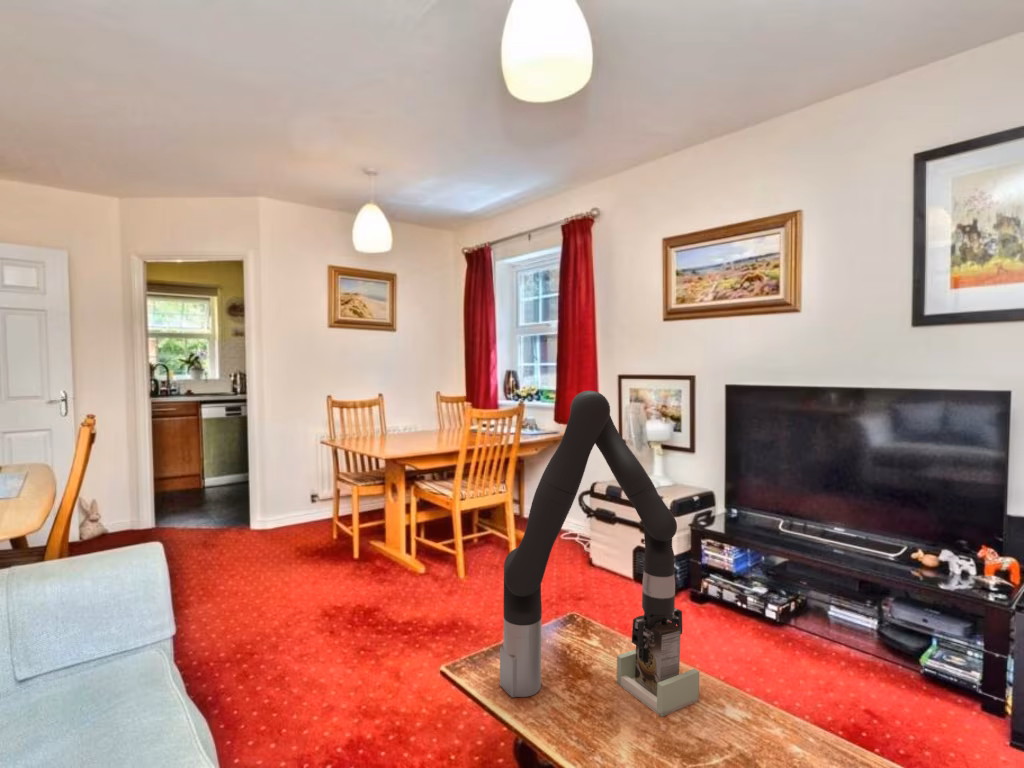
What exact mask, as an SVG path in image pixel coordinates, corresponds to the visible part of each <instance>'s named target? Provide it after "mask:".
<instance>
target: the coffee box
mask: <svg viewBox="0 0 1024 768" xmlns="http://www.w3.org/2000/svg"><path fill="white" fill-rule="evenodd" d="M643 617H644V614H643V615H638V616H636V617H635V618H637V619H638V620H639V619H643ZM644 626H645V625H644ZM645 632H646V633H647V634H651V632H653V640H651V642H650V644H649V646H648V648H649V651H648V663H644V662H642V661H641V660H640V659H639V647H638V646H636V645H635V649H636V663H635V664H636V665H635V681H636V682H637V683H639V684H640V685H641V686H642V687H643V688H645V689H646V690H648V691H649V692H651V693H652V694H653V695H655V696H656V697H657V683H659V682H661V681H664V680H666V679H669V678H671V677H674V676H677V675H679V674H680V663H681V662H680V660H681V659H680V657H681V656H680V655H681V635H682V634H681V628H679V627H678V626H677V624H676V625H674V624H673V623H670V624H669V625H666V624H662V626H661V627H658V628H655V627H652V628H651V629H649V628H648V626H647V628H646V626H645ZM680 634H681V635H680ZM646 638H647V637H645V638H644V640H643V641H644V642H645V640H646ZM637 639H638V636H637Z"/></svg>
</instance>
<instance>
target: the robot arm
mask: <svg viewBox="0 0 1024 768" xmlns="http://www.w3.org/2000/svg"><path fill="white" fill-rule="evenodd" d="M569 409H570V412H569V417H568V421H567V423H566V427H565V430H564V434H563V436H562V438H561V440H560V443H559V444H558V447H556V450H555V452H554V453H553V455H552V456H551V458H550V459H549V462H548V463H547V465H546V467H545V469H544V471H543V473H542V475H541V477H540V480H539V482H538V485H537V487H536V489H535V492H534V495H533V498H532V501H531V504H530V505H531V506H530V508H529V513H528V517H527V523H526V527H525V530H524V534H523V537H522V539H521V541H520V543H519V545H518V547H516V548H514V549H512V550H511V551H510V552H509V553H508V554H507V555H506V557H505V560H504V563H503V630H502V631H503V635H502V636H503V637H502V638H503V640H502V641H503V642H502V644H503V646H500V648H499V686H500V687H501V688H502V689H503V690H504V691H505V692H506V693H507V694H508V695H509V696H510V697H511V698H517V697H518V698H519V697H520V698H527V697H531V696H533V695H536V694H538V693H539V691H540V690H541V688H542V617H543V616H542V614H543V613H542V611H543V610H542V609H543V608H542V606H543V605H542V582H543V580H544V575H545V572H546V568H547V565H548V562H549V558H550V555H551V553H552V549H553V547H554V544H555V542H556V540H557V538H558V536H559V534H560V533H561V530H562V527H563V526H564V524H565V521H566V519H567V517H568V515H569V512H570V510H571V508H572V506H573V504H574V502H575V499H576V496H577V493H578V492H579V488H580V485H581V484H582V481H583V477H584V475H585V472H586V468H587V466H588V465H587V464H588V461H589V458H590V454H591V453H592V450H593V448H594V446H596V447H597V448H598V450H599V451H600V453H601V455H602V457H603V458H604V460H605V462H606V464H607V465H608V467H609V469H610V471H611V473H612V474H613V477H614V478H615V480H616V482H617V483H618V486H620V488H621V490H622V491H623V493H624V494H625V496H626V498H627V499H628V501H629V502H630V503H631V504H632V507H634V509H635V511H636V513H637V516H639V520H641V522H642V524H643V534H644V535H643V536H644V556H643V557H644V558H643V563H644V564H643V575H642V590H641V591H642V593H641V594H642V595H641V596H642V597H641V598H642V599H641V607H642V610H643V615H644V617H643V619H639V620H638V619H637V618H636V617H635V618H633V620H632V631H631V643H632V644H634V645H635V647H636V646H638V647H639V659H640V660H641V661H642V662H644V663H648V651H649V648H648V646H649V644H650V642H651V640H653V632H651V634H647V633H646V632H645V626H646V628H647V626H648V628H649V629H651V628H652V627H655V628H658V627H661V626H662V624H666V625H669V624H670V623H673V624H674V625H676V626H678V627H679V628H681V634H680V636H681V635H682V634H683V611H682V610H681V609H679V608H677V607H675V605H676V604H675V602H676V599H675V598H676V579H675V553H674V548H673V538H674V536H675V535H676V533H677V530H678V523H677V520H676V518H675V516H674V514H673V512H672V511H671V510H670V509H669V507H668V506H667V505H666V503H665V502H664V500H663V499H662V497H661V496H660V494H659V493H658V491H657V489H656V486H655V484H654V483H653V481H652V479H651V478H650V476H649V475H648V473H647V472H646V470H645V468H644V467H643V465H642V464H641V462H640V461H639V459H638V458H637V457H636V455H635V454H634V452H633V451H632V450H631V449H630V447H629V446H628V445H627V443H626V442H625V441H624V439H623V438H622V436H621V435H620V433H619V430H617V429H618V428H616V425H615V424H614V421H613V419H612V416H611V406H610V403H609V401H608V399H607V398H606V396H604V395H603V394H602V393H600V392H598V391H594V390H584V391H581V392H579V393H578V394H577V395H575V396H574V397H573V399H572V401H571V403H570V408H569ZM644 625H645V626H644ZM637 636H638V639H637ZM645 637H647V638H646V640H645V642H644V641H643V640H644V638H645Z"/></svg>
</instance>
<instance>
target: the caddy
mask: <svg viewBox="0 0 1024 768" xmlns="http://www.w3.org/2000/svg"><path fill="white" fill-rule="evenodd" d="M635 663H636V648H634V649H633V650H630V651H627V652H625V653H621V654H618V655H616V684H617V685H618V686H620V687H621V688H622V689H623V690H625V691H626V692H627V693H629V694H630V695H632V696H633V697H634V698H636V699H637V700H638V701H640V702H641V703H642V704H643V705H645V706H647V707H648V708H649V709H650V710H652V711H653V712H654V713H655V714H657V715H659V717H661V718H663V717H665V716H668V715H670V714H672V713H674V712H677V711H679V710H681V709H684V708H685V707H688V706H690V705H693V704H696V703H697V702H699V701H700V671H699V670H697V669H696V668H692V669H690V670H687V671H685V672H682V673H679V675H677V676H674V677H671V678H669V679H666V680H664V681H661V682H659V683H657V697H656V696H655V695H653V694H652V693H651V692H649V691H648V690H646V689H645V688H643V687H642V686H641V685H640V684H639V683H637V682H636V681H635V665H636V664H635Z"/></svg>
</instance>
